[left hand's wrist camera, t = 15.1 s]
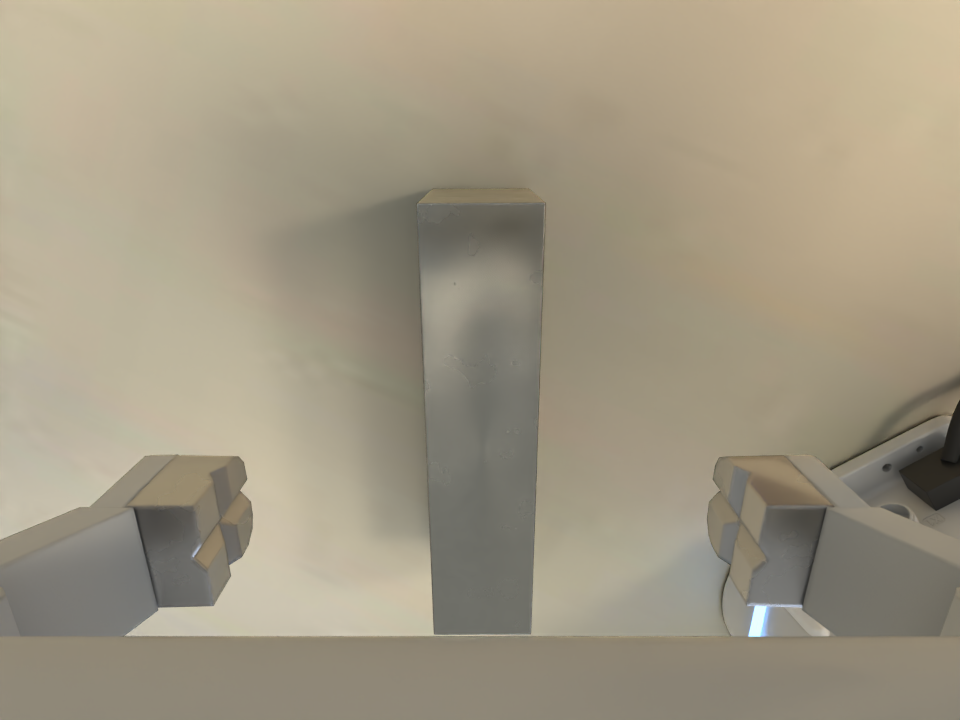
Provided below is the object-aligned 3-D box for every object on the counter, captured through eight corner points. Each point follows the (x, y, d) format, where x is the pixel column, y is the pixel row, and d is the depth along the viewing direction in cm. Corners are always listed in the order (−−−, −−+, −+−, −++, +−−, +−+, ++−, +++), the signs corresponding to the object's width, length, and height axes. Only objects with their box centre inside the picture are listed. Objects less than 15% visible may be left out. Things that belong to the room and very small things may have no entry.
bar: (432, 188, 33) (416, 203, 24) (529, 188, 33) (545, 202, 24) (443, 537, 41) (433, 635, 33) (521, 536, 41) (531, 634, 33)
